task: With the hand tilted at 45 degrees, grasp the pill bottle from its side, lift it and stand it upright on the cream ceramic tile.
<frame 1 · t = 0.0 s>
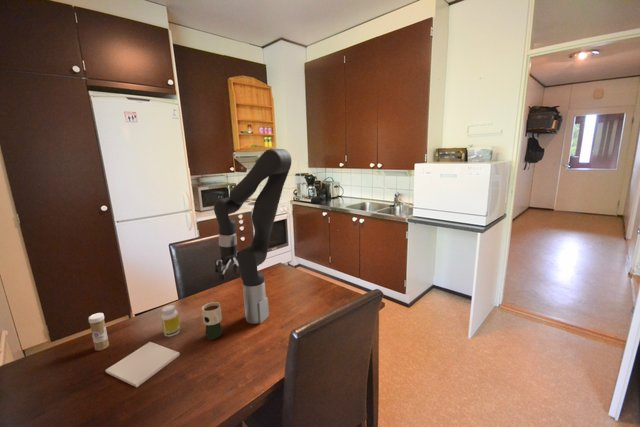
hand: (229, 277, 129), 17 cm above the table, tool pointing down, fingers open, 8 cm apart
pill bottle: (172, 332, 118), on the table
sprinkles bottle: (102, 347, 110), on the table
ceramic tile: (144, 363, 101), on the table
character mug: (214, 336, 115), on the table
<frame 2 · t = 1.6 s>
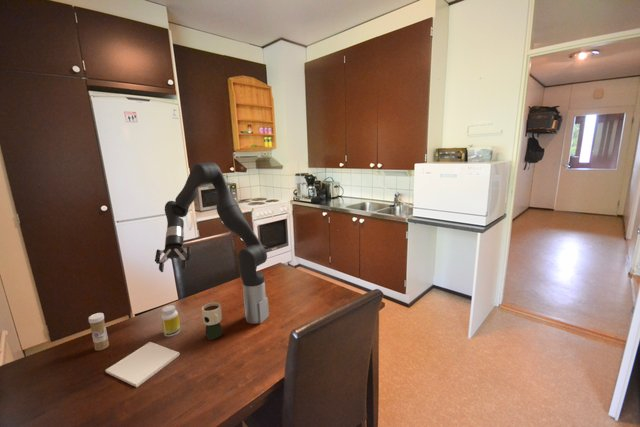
hand: (172, 270, 126), 22 cm above the table, tool tilted 45°, fingers open, 8 cm apart
nothing on the table moved.
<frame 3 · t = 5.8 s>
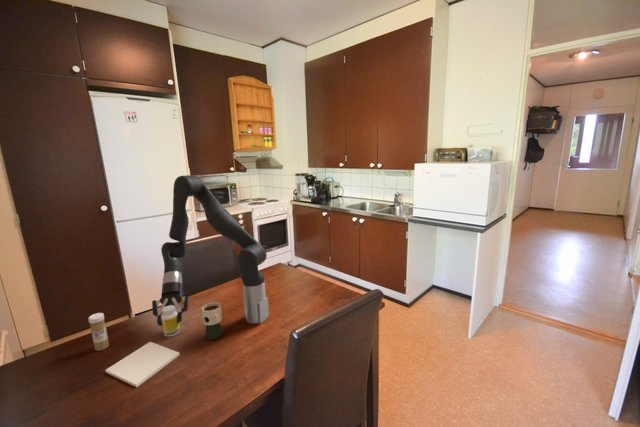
hand: (169, 323, 115), 5 cm above the table, tool tilted 45°, fingers closed on pill bottle, 6 cm apart
pill bottle: (172, 332, 118), on the table, touching gripper
everything else where it was.
when the fingers open (7 cm above the table, at t = 11.9 s): pill bottle drops 1 cm, resting on ceramic tile.
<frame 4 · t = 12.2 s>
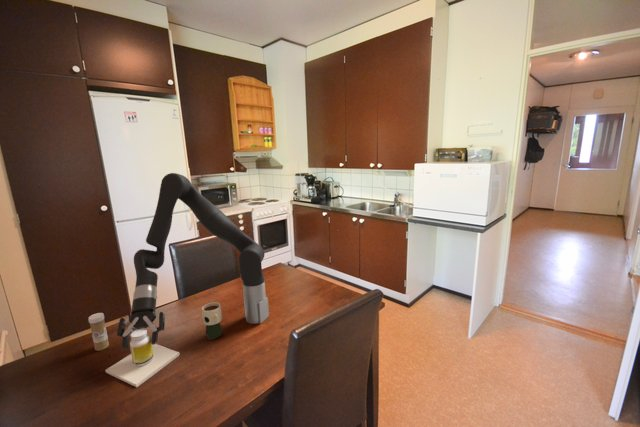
hand: (139, 346, 98), 8 cm above the table, tool tilted 45°, fingers open, 8 cm apart
pill bottle: (143, 361, 101), point 1 cm above the table, touching ceramic tile
everything else where it was.
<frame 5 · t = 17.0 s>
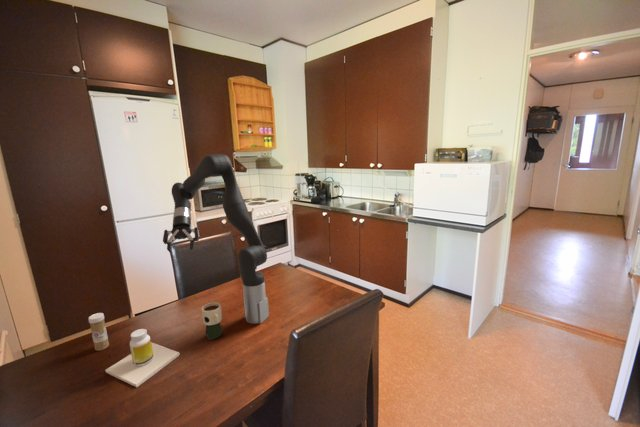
hand: (180, 250, 125), 31 cm above the table, tool tilted 45°, fingers open, 8 cm apart
nothing on the table moved.
at the end: pill bottle inside the target area on the ceramic tile (0.2 cm from its centre), point 0.8 cm above the ceramic tile's base; pill bottle tilted 0°; the gripper is holding nothing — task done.
